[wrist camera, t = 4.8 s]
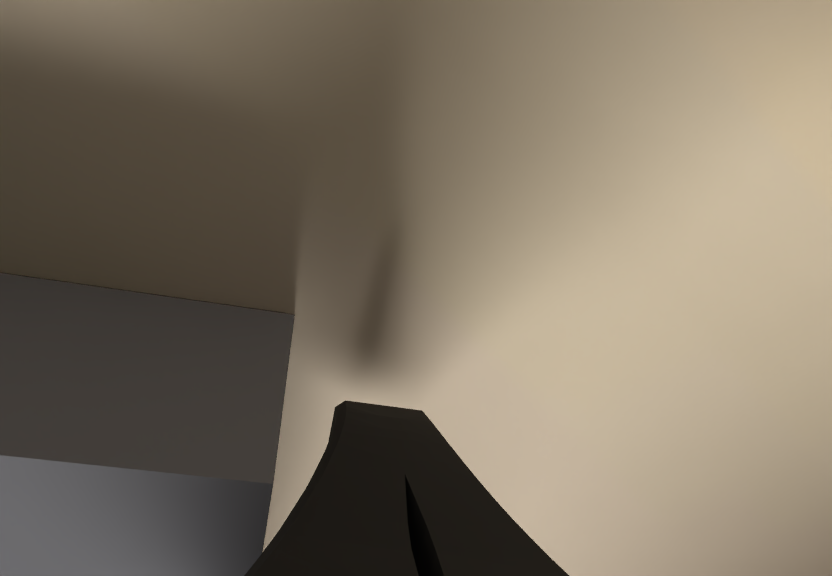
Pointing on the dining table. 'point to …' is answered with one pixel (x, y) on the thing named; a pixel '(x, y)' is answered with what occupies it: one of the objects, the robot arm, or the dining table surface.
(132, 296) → the doorstop
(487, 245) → the dining table surface
